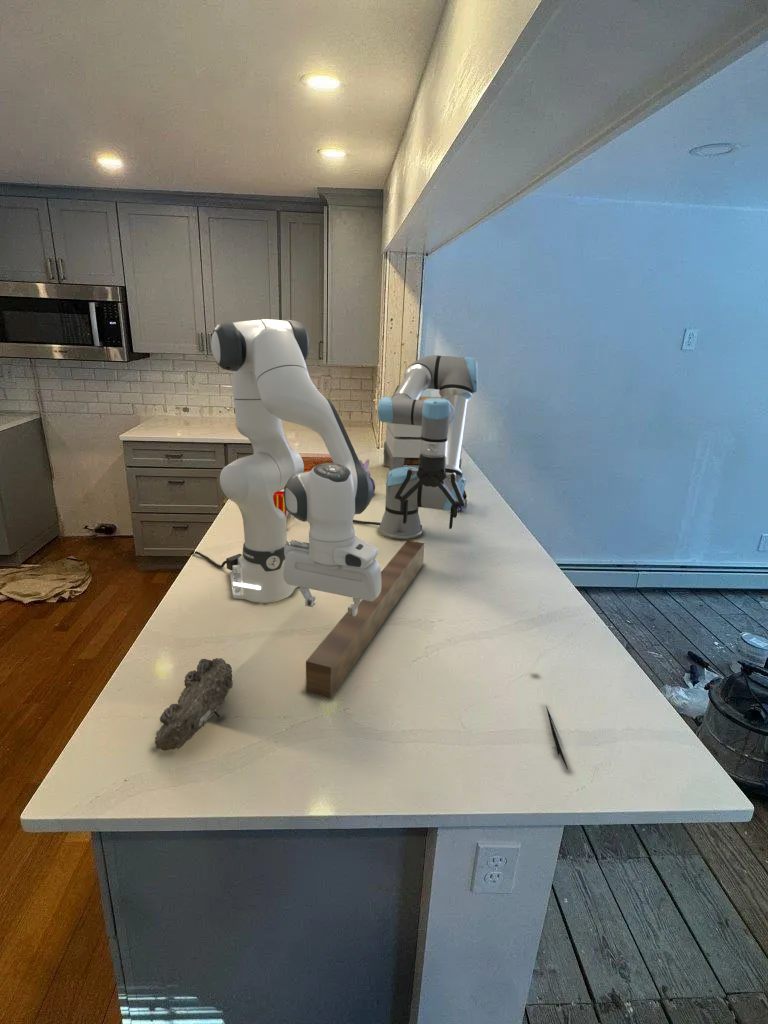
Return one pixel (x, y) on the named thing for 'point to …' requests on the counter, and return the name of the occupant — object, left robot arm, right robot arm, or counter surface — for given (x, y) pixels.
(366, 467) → the figurine
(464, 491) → the figurine character
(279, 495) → the toy
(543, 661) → the counter surface
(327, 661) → the bar
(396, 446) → the white storage bin
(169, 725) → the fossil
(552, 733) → the feather
